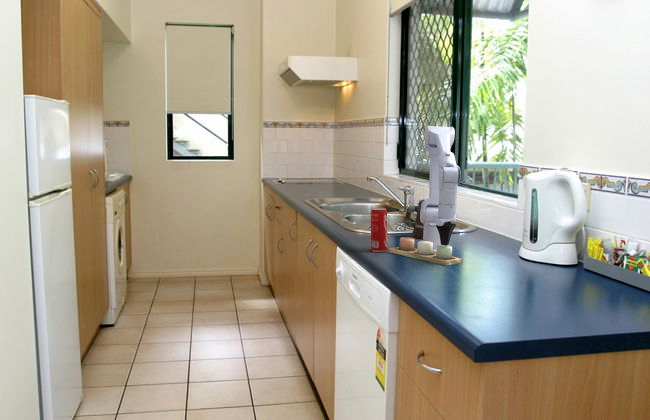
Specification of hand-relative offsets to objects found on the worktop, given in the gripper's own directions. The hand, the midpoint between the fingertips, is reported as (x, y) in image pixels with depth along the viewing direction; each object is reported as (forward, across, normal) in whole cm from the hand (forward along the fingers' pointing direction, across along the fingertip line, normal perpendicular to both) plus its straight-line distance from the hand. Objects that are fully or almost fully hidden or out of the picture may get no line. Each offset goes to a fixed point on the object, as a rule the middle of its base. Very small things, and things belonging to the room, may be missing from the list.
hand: (444, 245), depth 201 cm
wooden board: (+5, -3, -8) cm, 10 cm away
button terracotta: (+4, -5, -15) cm, 17 cm away
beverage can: (+6, -2, -24) cm, 25 cm away
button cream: (+4, -3, -8) cm, 9 cm away
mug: (+6, -40, -23) cm, 46 cm away
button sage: (+4, 0, 0) cm, 4 cm away
